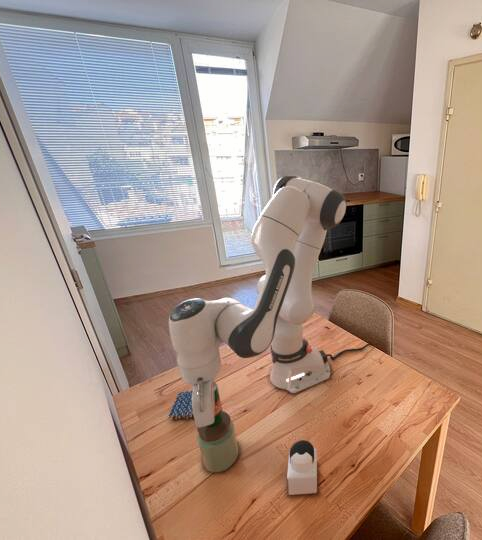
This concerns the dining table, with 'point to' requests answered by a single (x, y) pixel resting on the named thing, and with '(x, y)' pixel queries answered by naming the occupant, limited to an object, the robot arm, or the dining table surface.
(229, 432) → the jar
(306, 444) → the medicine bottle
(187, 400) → the woven mat
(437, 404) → the dining table surface
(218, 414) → the soda can
